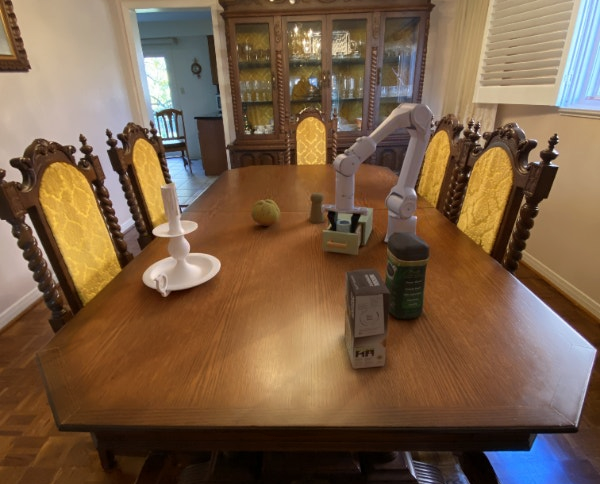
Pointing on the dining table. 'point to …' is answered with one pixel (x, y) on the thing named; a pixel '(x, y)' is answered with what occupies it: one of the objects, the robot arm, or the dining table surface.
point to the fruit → (265, 212)
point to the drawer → (342, 240)
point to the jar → (343, 226)
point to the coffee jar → (406, 274)
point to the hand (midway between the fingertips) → (343, 234)
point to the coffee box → (366, 318)
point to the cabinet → (363, 220)
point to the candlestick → (178, 252)
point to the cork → (316, 208)
